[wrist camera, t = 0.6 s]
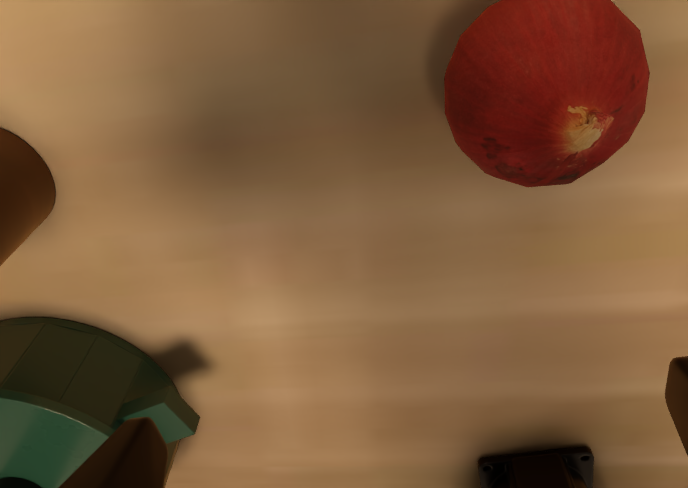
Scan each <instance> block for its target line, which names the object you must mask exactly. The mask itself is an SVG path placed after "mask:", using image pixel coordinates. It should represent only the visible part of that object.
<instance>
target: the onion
mask: <svg viewBox="0 0 688 488" xmlns="http://www.w3.org/2000/svg"><path fill="white" fill-rule="evenodd" d="M649 74H650V73H649V68H648V64H647V60H646V55H645V51H644V47H643V43H642V38H641V33H640V30H639V29H638V28H637V27H636V26H635V25H634V24H633V23H632V22H631V21H630V20H629V19H628V18H627V17H626V16H625V15H624V14H623V13H622V12H621V10H620V9H619V8H618V7H617V6H616V5H615V4H614V3H613V2H612V1H611V0H501V1H499V2H497V3H495V4H493V5H491V6H489V7H487V8H486V10H485V11H484V12H483V13H482V14H481V15H480V16H479V17H478V18H477V19H476V20H475V21H474V22H473V23H472V24H471V25H470V26H469V27H468V28H467V29H466V30H465V31H464V32H463V33H462V34H461V35H460V38H459V40H458V43H457V45H456V47H455V50H454V52H453V55H452V57H451V60H450V62H449V64H448V67H447V69H446V73H445V78H444V86H445V115H446V117H447V120H448V123H449V125H450V128H451V131H452V134H453V136H454V139H455V142H456V143H457V145H458V146H459V147H460V149H461V150H462V151H463V152H464V153H465V154H466V155H467V156H468V157H469V158H470V159H471V160H472V161H473V162H474V163H475V164H476V165H477V166H479V167H480V168H481V169H482V170H483V171H484V172H485V173H486V174H489V175H491V176H493V177H496V178H499V179H502V180H506V181H509V182H512V183H515V184H519V185H522V186H525V187H536V186H549V185H561V184H569V183H572V182H573V181H575V180H577V179H578V178H580V177H581V176H583V175H585V174H586V173H588V172H589V171H591V170H593V169H594V168H596V167H597V166H599V165H601V164H602V163H604V162H605V161H606V160H607V159H608V158H609V157H611V156H612V155H613V154H614V153H615V152H616V151H617V150H619V149H620V148H621V147H622V146H623V145H624V144H625V143H627V142H628V140H629V139H630V137H631V135H632V133H633V132H634V130H635V128H636V126H637V124H638V123H639V121H640V119H641V117H642V115H643V114H644V112H645V105H646V97H647V89H648V82H649Z"/></svg>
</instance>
